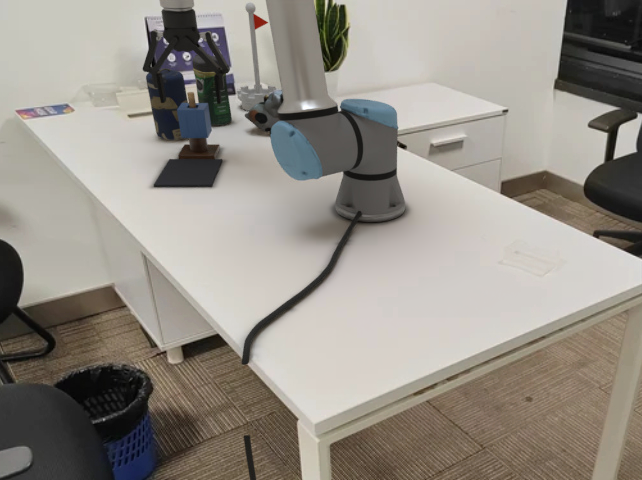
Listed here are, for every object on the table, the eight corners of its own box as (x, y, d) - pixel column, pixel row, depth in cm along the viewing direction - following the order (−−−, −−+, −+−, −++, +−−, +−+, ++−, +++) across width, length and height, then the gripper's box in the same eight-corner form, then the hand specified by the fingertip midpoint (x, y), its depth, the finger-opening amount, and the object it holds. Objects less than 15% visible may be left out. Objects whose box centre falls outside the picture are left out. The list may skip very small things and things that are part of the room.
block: (207, 138, 174) (203, 110, 170) (181, 138, 173) (176, 109, 169) (211, 130, 179) (208, 103, 175) (186, 130, 178) (181, 102, 174)
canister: (200, 136, 191) (190, 68, 181) (173, 144, 184) (161, 74, 174) (177, 130, 195) (165, 63, 185) (149, 137, 188) (136, 68, 178)
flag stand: (232, 110, 214) (219, 3, 197) (248, 100, 225) (237, -2, 208) (272, 113, 212) (262, 6, 196) (286, 103, 223) (278, 1, 206)
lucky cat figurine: (269, 119, 207) (289, 77, 200) (297, 142, 204) (318, 101, 198) (235, 115, 194) (255, 71, 187) (264, 140, 191) (286, 96, 185)
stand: (215, 160, 176) (206, 97, 167) (178, 159, 175) (168, 97, 166) (220, 148, 183) (212, 88, 174) (185, 148, 182) (175, 88, 173)
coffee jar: (236, 123, 202) (228, 56, 192) (211, 128, 198) (201, 59, 188) (221, 116, 208) (213, 50, 198) (196, 120, 204) (186, 53, 194)
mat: (211, 186, 160) (211, 184, 160) (153, 187, 159) (153, 184, 158) (222, 161, 175) (222, 158, 175) (169, 161, 174) (169, 158, 173)
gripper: (234, 7, 164) (244, 98, 176) (126, 4, 161) (143, 97, 173) (230, 12, 158) (241, 106, 170) (117, 9, 155) (136, 105, 167)
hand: (191, 102), depth 172 cm, fingers open, 13 cm apart
